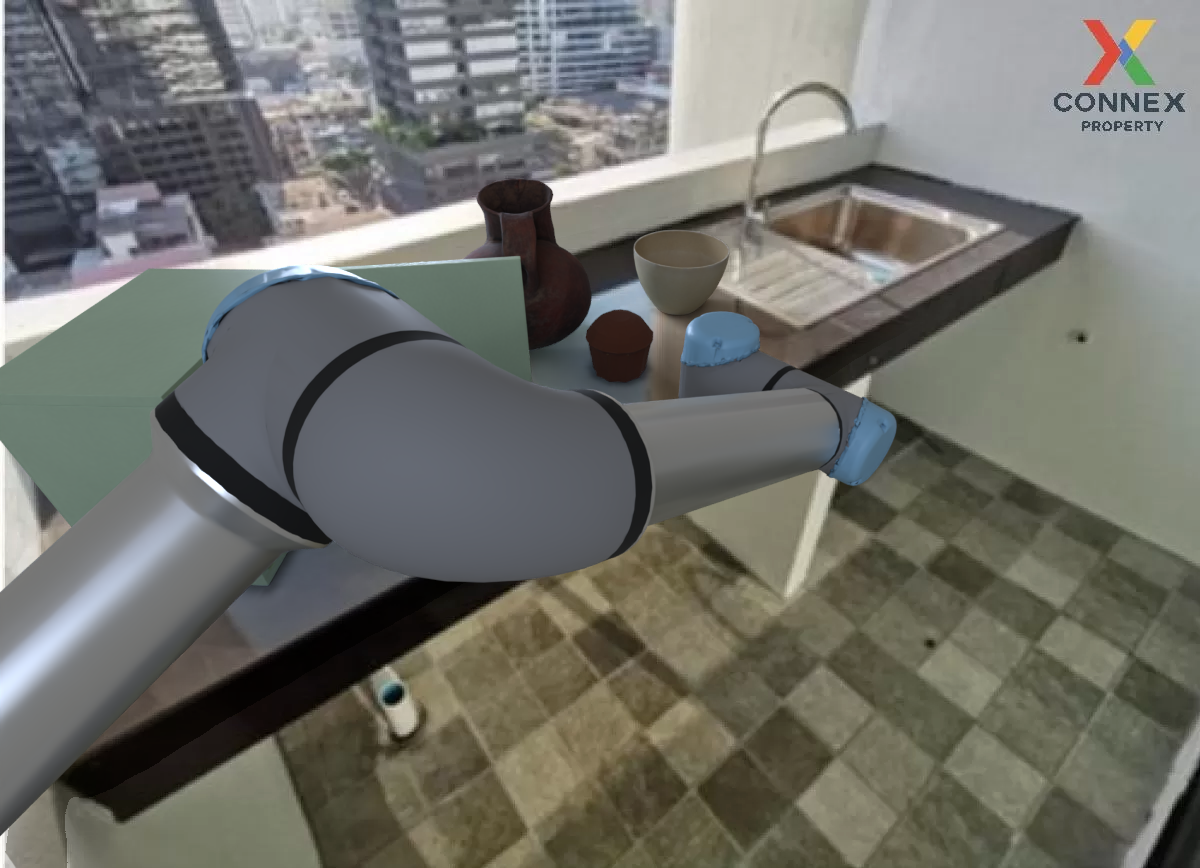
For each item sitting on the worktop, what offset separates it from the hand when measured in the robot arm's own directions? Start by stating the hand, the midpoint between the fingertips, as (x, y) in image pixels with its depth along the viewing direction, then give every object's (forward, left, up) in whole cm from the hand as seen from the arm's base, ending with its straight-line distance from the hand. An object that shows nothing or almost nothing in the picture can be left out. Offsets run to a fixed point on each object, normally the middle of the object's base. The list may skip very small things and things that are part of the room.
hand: (443, 439), depth 71 cm
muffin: (+39, -1, -11) cm, 41 cm away
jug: (+40, +20, -11) cm, 46 cm away
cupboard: (-14, +24, -11) cm, 30 cm away
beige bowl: (+65, +1, -11) cm, 66 cm away
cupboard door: (+13, +14, -11) cm, 22 cm away
